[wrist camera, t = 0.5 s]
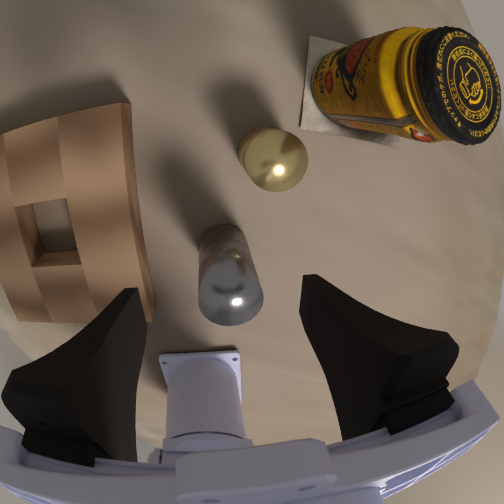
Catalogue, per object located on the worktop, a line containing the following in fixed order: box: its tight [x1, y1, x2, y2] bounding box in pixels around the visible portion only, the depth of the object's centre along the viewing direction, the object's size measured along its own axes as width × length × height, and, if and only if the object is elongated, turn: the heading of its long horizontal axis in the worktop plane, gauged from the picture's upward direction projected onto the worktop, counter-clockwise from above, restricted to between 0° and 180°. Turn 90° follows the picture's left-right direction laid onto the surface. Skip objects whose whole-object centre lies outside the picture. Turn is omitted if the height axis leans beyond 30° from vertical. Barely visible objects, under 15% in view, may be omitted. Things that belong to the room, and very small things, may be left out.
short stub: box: [238, 127, 308, 192], centre depth 17 cm, size 4×4×4 cm
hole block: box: [0, 103, 156, 323], centre depth 18 cm, size 16×14×2 cm
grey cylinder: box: [198, 224, 263, 326], centre depth 19 cm, size 4×4×7 cm
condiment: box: [301, 26, 501, 148], centre depth 13 cm, size 7×8×12 cm
